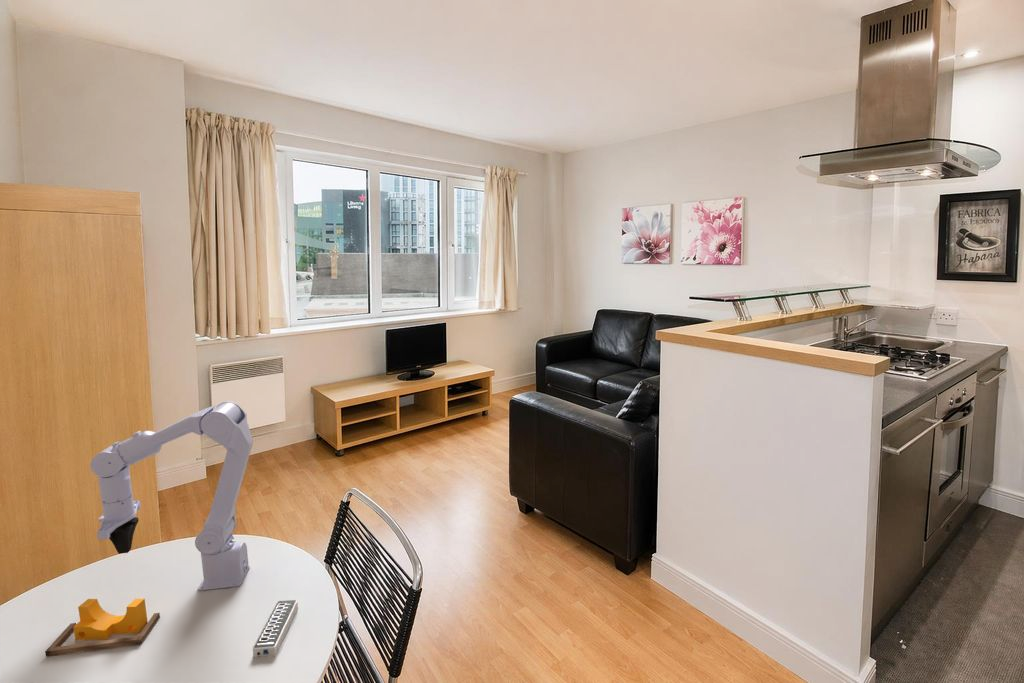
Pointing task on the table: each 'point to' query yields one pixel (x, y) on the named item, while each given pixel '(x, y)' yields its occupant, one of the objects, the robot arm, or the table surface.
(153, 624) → the bay
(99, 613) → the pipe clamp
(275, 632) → the multiport hub
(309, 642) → the table surface
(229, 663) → the table surface
